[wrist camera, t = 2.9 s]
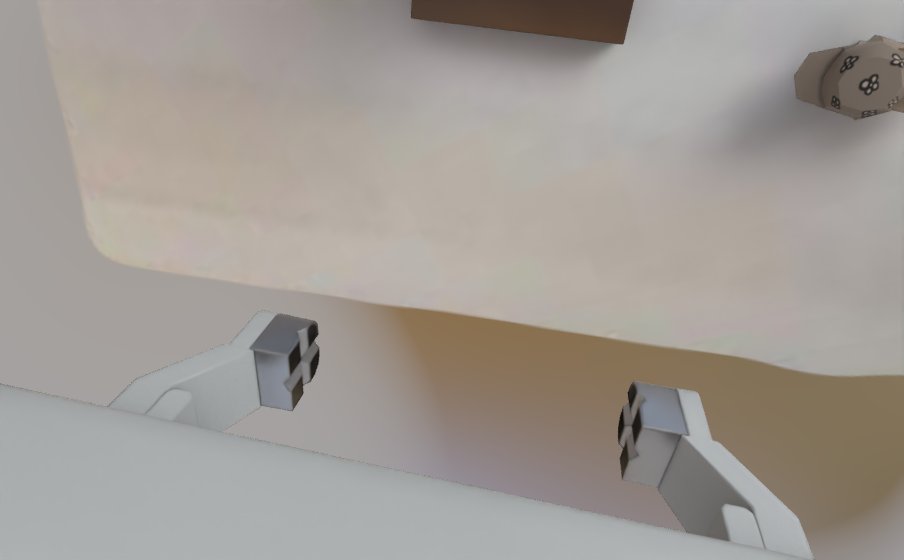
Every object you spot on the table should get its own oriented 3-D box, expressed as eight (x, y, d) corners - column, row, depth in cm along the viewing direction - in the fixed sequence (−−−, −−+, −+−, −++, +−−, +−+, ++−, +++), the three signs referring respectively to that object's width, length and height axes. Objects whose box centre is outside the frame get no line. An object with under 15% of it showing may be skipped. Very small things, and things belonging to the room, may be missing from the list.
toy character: (809, 28, 32) (804, 36, 28) (986, 35, 29) (1012, 46, 24) (789, 100, 34) (781, 118, 30) (951, 115, 31) (970, 138, 26)
